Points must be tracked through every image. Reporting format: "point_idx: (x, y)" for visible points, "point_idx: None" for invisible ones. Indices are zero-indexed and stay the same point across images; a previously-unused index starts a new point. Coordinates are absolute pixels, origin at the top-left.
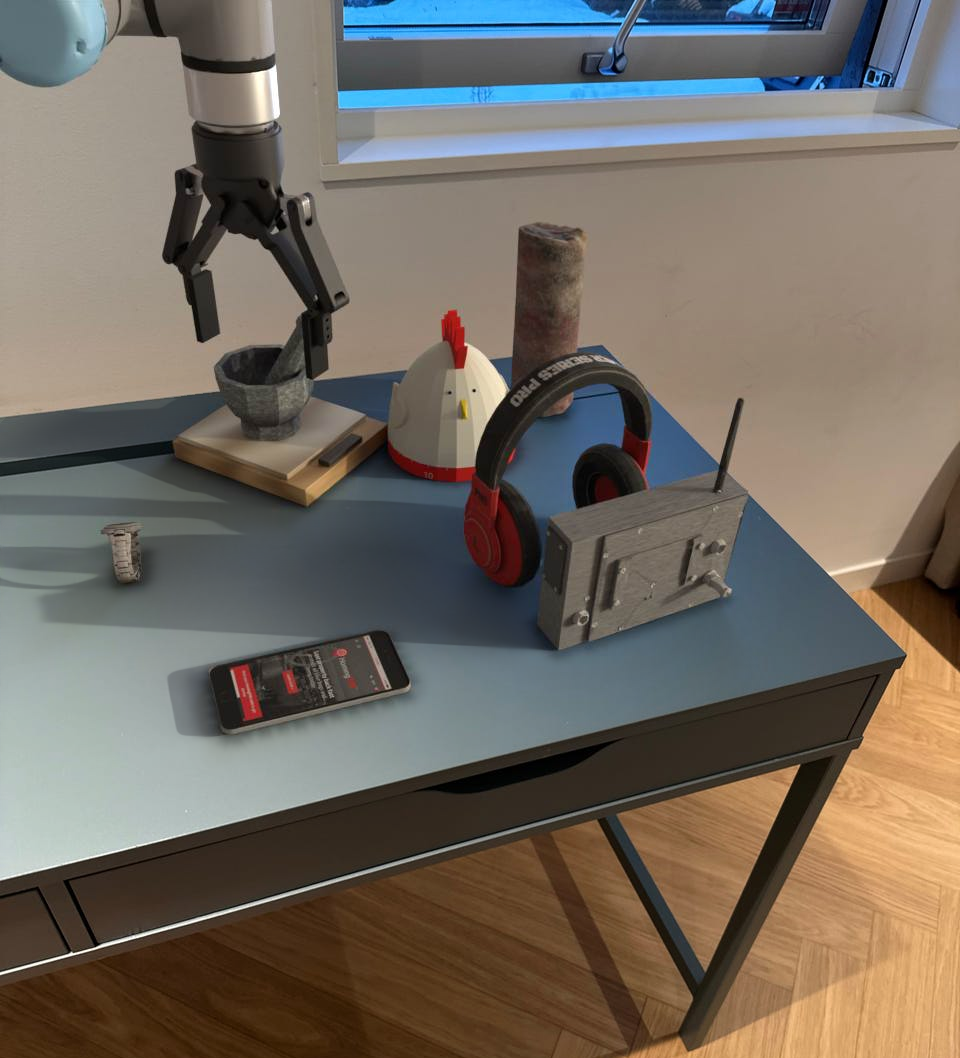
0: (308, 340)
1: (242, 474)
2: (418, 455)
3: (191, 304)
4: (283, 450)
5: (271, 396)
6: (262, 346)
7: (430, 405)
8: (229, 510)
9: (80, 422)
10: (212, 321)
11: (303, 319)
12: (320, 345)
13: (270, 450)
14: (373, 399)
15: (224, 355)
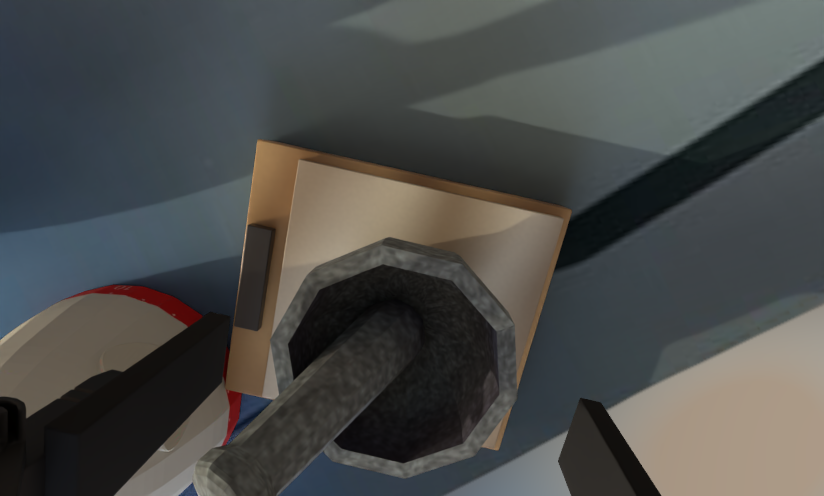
0: (134, 368)
1: (405, 171)
2: (118, 302)
3: (654, 487)
4: (344, 235)
5: (327, 263)
6: (442, 456)
7: (24, 369)
8: (391, 84)
9: (793, 257)
10: (579, 474)
11: (90, 416)
12: (116, 372)
13: (367, 228)
14: (317, 477)
15: (514, 387)
